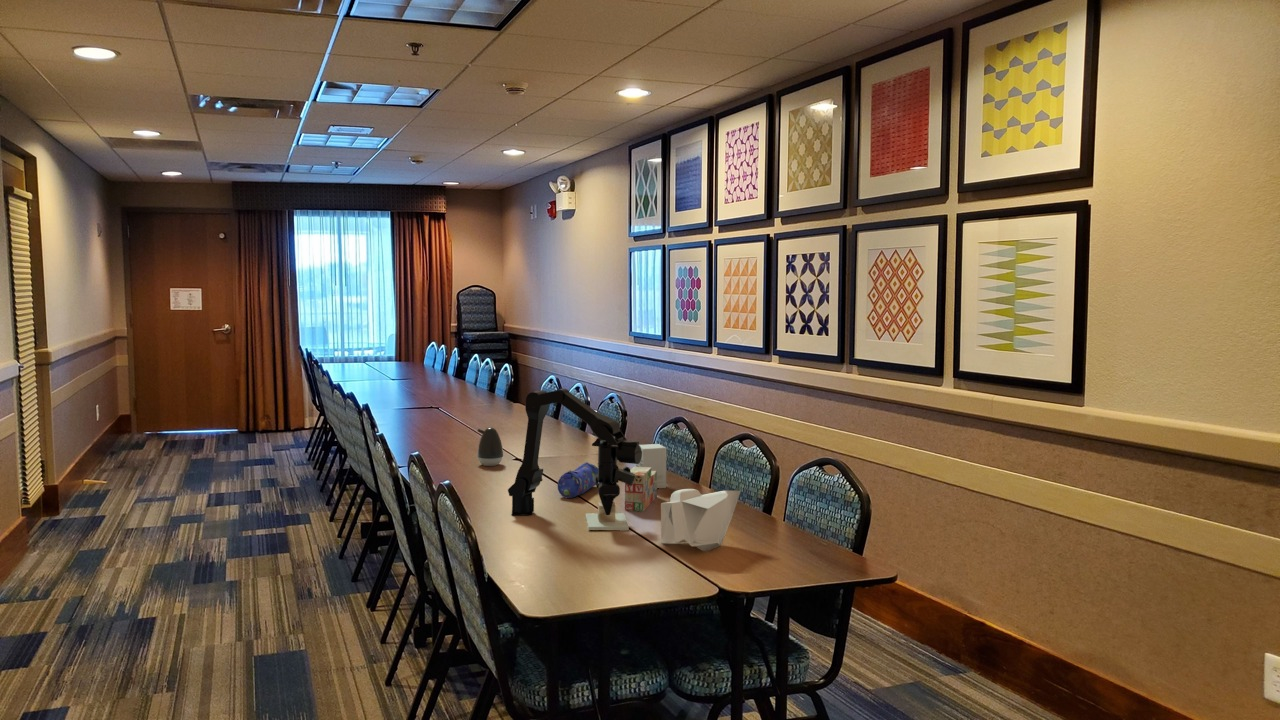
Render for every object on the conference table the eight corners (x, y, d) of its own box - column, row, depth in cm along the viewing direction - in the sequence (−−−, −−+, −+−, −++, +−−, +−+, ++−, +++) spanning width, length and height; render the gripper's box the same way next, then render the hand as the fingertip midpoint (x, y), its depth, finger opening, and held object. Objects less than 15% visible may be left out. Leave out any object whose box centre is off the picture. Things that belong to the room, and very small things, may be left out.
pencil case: (578, 500, 313) (578, 472, 312) (555, 498, 316) (555, 470, 315) (601, 487, 334) (602, 461, 333) (579, 485, 336) (580, 459, 336)
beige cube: (598, 522, 280) (599, 505, 280) (597, 517, 285) (598, 501, 285) (615, 521, 281) (615, 505, 280) (613, 517, 286) (614, 501, 285)
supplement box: (658, 483, 341) (659, 443, 340) (666, 488, 333) (667, 447, 332) (635, 484, 339) (635, 444, 337) (642, 489, 330) (643, 448, 329)
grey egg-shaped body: (481, 462, 375) (481, 425, 374) (506, 463, 374) (506, 426, 373) (473, 466, 365) (473, 429, 364) (498, 468, 364) (499, 430, 363)
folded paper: (654, 485, 260) (687, 503, 245) (725, 478, 272) (759, 494, 257) (651, 542, 263) (682, 564, 248) (721, 533, 274) (755, 553, 260)
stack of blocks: (639, 496, 321) (640, 461, 320) (656, 497, 320) (657, 462, 318) (624, 510, 300) (624, 473, 299) (643, 511, 299) (643, 474, 298)
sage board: (588, 530, 274) (588, 526, 274) (585, 517, 290) (585, 513, 290) (628, 530, 276) (628, 526, 276) (623, 516, 292) (623, 513, 291)
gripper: (637, 467, 273) (636, 518, 274) (630, 455, 291) (629, 503, 293) (599, 467, 272) (598, 519, 273) (595, 455, 290) (594, 504, 292)
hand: (606, 511), depth 283 cm, fingers open, 9 cm apart
